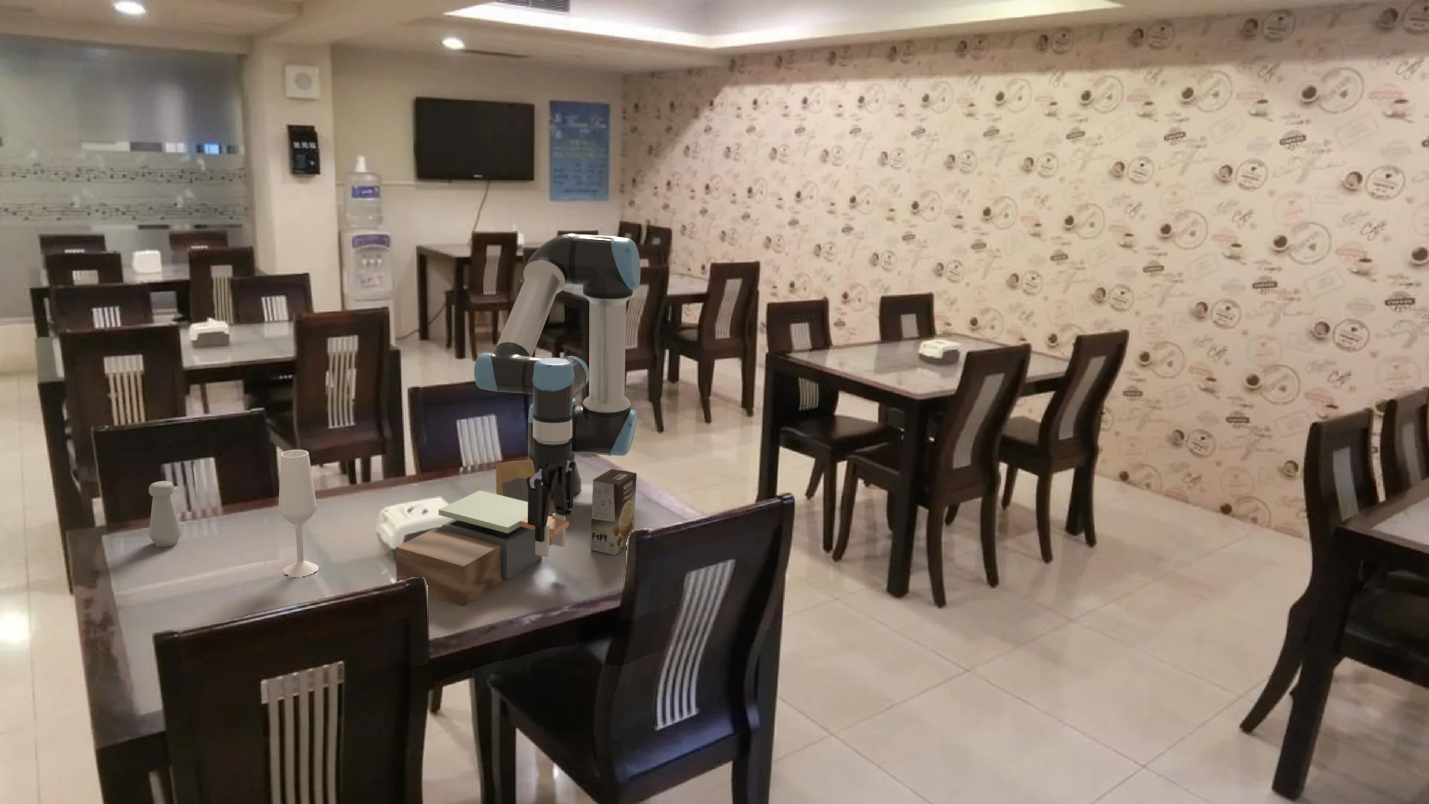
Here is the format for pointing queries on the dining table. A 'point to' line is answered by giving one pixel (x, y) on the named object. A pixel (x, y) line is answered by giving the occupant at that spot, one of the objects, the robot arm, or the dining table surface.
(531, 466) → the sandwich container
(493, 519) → the lid
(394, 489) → the dining table surface
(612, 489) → the coffee box
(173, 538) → the salt shaker
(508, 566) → the tub
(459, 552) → the stand
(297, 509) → the champagne flute
